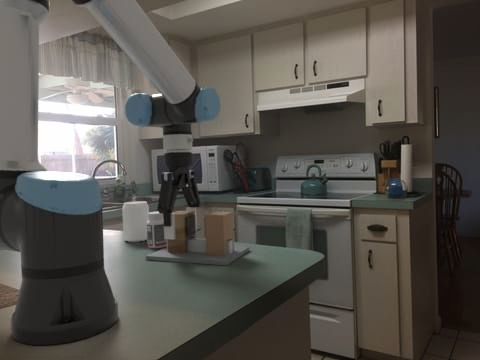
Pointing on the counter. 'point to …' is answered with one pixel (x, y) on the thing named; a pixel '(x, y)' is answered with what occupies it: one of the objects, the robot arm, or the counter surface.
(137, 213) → the white piece
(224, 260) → the rail
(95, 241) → the robot arm
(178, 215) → the notched tan block
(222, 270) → the counter surface
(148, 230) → the pill bottle
